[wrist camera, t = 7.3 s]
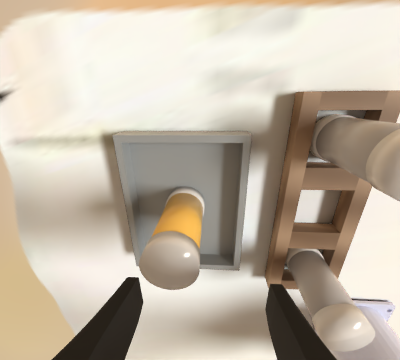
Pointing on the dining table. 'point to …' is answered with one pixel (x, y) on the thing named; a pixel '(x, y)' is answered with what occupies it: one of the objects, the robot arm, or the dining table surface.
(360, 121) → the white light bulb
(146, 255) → the amber fuse
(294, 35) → the dining table surface
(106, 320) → the robot arm
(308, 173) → the brown wooden rack
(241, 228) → the tray
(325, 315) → the cylinder
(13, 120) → the dining table surface
